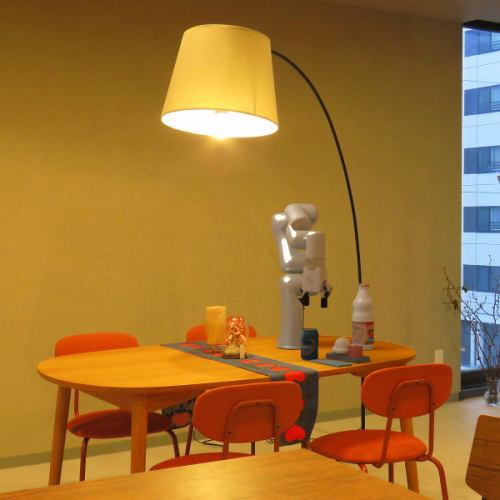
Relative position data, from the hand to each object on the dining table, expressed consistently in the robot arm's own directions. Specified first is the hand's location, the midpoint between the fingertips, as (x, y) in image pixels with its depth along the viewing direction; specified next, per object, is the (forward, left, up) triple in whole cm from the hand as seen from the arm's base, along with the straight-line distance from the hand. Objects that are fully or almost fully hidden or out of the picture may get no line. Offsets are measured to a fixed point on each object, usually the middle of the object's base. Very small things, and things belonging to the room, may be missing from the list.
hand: (314, 306), depth 300 cm
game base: (+8, +10, -20) cm, 24 cm away
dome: (+5, +10, -18) cm, 21 cm away
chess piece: (-49, +36, -21) cm, 64 cm away
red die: (+12, +10, -18) cm, 24 cm away
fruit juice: (-9, +37, -21) cm, 44 cm away
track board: (+11, -2, -20) cm, 23 cm away
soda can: (-1, -2, -21) cm, 21 cm away
